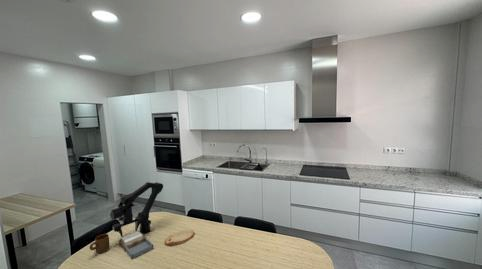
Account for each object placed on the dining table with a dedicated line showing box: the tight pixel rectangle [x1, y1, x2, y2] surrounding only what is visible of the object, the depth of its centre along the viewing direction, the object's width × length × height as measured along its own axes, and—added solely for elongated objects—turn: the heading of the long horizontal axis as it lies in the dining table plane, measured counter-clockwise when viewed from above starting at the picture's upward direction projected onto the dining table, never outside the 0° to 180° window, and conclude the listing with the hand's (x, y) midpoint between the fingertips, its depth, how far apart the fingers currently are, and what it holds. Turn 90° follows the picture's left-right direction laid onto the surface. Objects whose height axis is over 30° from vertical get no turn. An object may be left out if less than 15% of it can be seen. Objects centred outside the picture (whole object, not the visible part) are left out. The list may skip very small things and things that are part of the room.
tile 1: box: [120, 230, 140, 242], centre depth 139 cm, size 11×4×2 cm, turn 137°
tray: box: [125, 238, 155, 260], centre depth 130 cm, size 13×12×3 cm
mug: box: [89, 233, 110, 255], centre depth 128 cm, size 12×8×9 cm, turn 165°
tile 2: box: [124, 233, 143, 245], centre depth 136 cm, size 11×4×2 cm, turn 137°
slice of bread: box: [164, 229, 195, 247], centre depth 142 cm, size 18×18×4 cm
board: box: [119, 231, 148, 252], centre depth 138 cm, size 14×12×3 cm
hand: (129, 234), depth 142 cm, fingers open, 9 cm apart
